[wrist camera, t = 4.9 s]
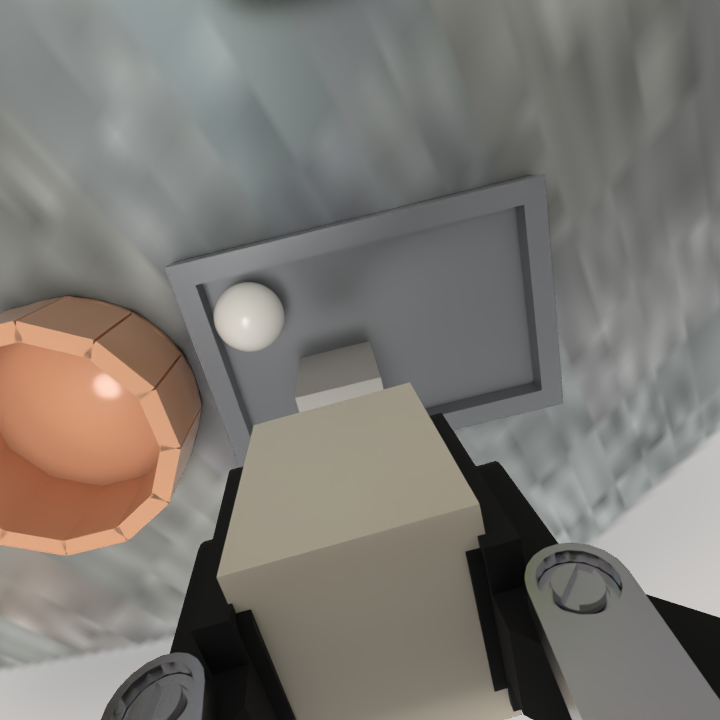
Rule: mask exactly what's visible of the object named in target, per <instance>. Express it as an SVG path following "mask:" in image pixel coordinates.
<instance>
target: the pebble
mask: <svg viewBox="0 0 720 720" xmlns="http://www.w3.org/2000/svg"><path fill="white" fill-rule="evenodd" d="M284 320H285V315H284V309H283V306H282V303H281V301H280V299H279V298H278V297H277V295H276V294H275V293H274V292H273V291H272V290H270V289H269V288H267V287H266V286H264V285H261V284H258V283H254V282H243V283H238V284H235V285H233V286H231V287H230V288H228V289H227V290H225V291H224V292H223V293H222V294H221V296H220V297H219V299H218V300H217V302H216V305H215V308H214V324H215V328H216V330H217V332H218V334H219V336H220V337H221V338H222V340H223V341H224V342H225V343H227V344H228V345H229V346H231V347H233V348H235V349H237V350H240V351H246V352H254V351H259V350H262V349H265V348H267V347H268V346H270V345H271V344H272V343H274V342H275V341H276V340H277V338H278V337H279V336H280V334H281V332H282V329H283V326H284Z"/></svg>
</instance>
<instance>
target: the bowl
mask: <svg viewBox="0 0 720 720" xmlns="http://www.w3.org/2000/svg"><path fill="white" fill-rule="evenodd" d="M201 405H202V404H201V400H200V394H199V388H198V385H197V382H196V379H195V376H194V374H193V372H192V369H191V367H190V365H189V363H188V362H187V360H186V359H185V357H184V355H183V354H182V352H181V351H180V350H179V349H178V347H177V346H176V345H175V344H174V342H173V341H172V340H171V339H170V338H169V337H168V336H167V335H166V334H164V333H163V332H162V331H161V330H160V329H159V328H157V327H156V326H155V325H153V324H152V323H151V322H149V321H148V320H146V319H145V318H143V317H141V316H140V315H138V314H136V313H134V312H132V311H130V310H128V309H125V308H123V307H121V306H118V305H115V304H112V303H109V302H105V301H101V300H96V299H91V298H80V297H71V296H67V297H66V296H63V297H59V298H53V299H47V300H42V301H39V302H35V303H32V304H29V305H26V306H22V307H18V308H14V309H10V310H6V311H4V312H2V313H0V545H5V546H11V547H17V548H23V549H29V550H35V551H41V552H47V553H53V554H59V555H66V554H67V555H72V554H76V553H80V552H84V551H89V550H93V549H97V548H101V547H105V546H109V545H113V544H117V543H122V542H126V541H127V540H130V539H131V538H132V537H133V536H134V535H135V534H136V533H137V532H138V531H139V530H140V529H142V528H143V527H144V526H145V525H146V524H147V523H148V522H149V521H150V520H151V519H152V518H154V517H155V516H156V515H157V514H158V513H159V512H160V511H161V510H162V509H163V508H164V507H166V506H167V505H168V504H169V502H170V500H171V498H172V496H173V493H174V491H175V489H176V487H177V485H178V482H179V480H180V478H181V476H182V474H183V471H184V469H185V467H186V465H187V463H188V460H189V458H190V456H191V454H192V450H193V446H194V441H195V437H196V434H197V431H198V428H199V423H200V416H201V409H202V407H201Z"/></svg>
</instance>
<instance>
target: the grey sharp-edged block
mask: <svg viewBox="0 0 720 720" xmlns="http://www.w3.org/2000/svg"><path fill="white" fill-rule="evenodd" d="M380 390H384V389H383V385H382V380H381V376H380V373H379V370H378V367H377V364H376V360H375V357H374V354H373V351H372V348H371V345H370V341H368V342H364V343H360V344H356V345H352V346H347V347H343V348H339V349H335V350H331V351H327V352H323V353H319V354H315V355H311V356H306V357H302V358H299V364H298V374H297V384H296V394H295V399H296V403H297V406H298V409H299V412H304V411H307V410H311V409H315V408H318V407H322V406H326V405H329V404H333V403H337V402H340V401H344V400H347V399H351V398H355V397H358V396H362V395H366V394H369V393H373V392H377V391H380Z"/></svg>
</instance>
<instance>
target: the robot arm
mask: <svg viewBox="0 0 720 720" xmlns="http://www.w3.org/2000/svg"><path fill="white" fill-rule="evenodd" d="M429 417H430V418H431V420H432V422H433V424H434V425H435V427H436V429H437V431H438V432H439V434H440V436H441V438H442V439H443V441H444V443H445V445H446V446H447V448H448V450H449V452H450V453H451V455H452V457H453V459H454V460H455V462H456V464H457V466H458V467H459V469H460V471H461V473H462V474H463V476H464V478H465V480H466V481H467V483H468V485H469V487H470V488H471V490H472V492H473V493H474V495H475V497H476V499H477V500H478V502H479V504H480V509H481V514H482V519H483V524H484V529H485V534H483V535H479V536H477V537H478V542H479V547H480V548H477V549H473V550H469V551H466V552H465V553H466V558H467V563H468V568H469V572H470V577H471V582H472V587H473V592H474V596H475V601H476V606H477V611H478V615H479V620H480V625H481V630H482V634H483V639H484V644H485V649H486V654H487V658H488V663H489V668H490V673H491V677H492V682H493V687H494V692H496V691H500V690H503V689H507V688H508V695H509V700H510V704H511V706H512V709H513V711H514V712H515V711H518V710H522V712H523V714H524V715H525V716H527V717H529V718H531V719H533V720H720V618H719V617H716V616H712V615H709V614H706V613H703V612H700V611H697V610H694V609H691V608H687V607H684V606H681V605H678V604H675V603H671V602H669V601H665V600H662V599H659V598H656V597H653V596H650V595H646V594H645V593H644V591H643V590H642V589H641V587H640V586H639V584H638V583H637V581H636V580H635V579H634V577H633V576H632V574H631V573H630V571H629V570H628V569H627V568H626V567H625V566H624V565H623V564H622V563H621V562H620V561H619V560H618V559H617V558H616V557H614V556H612V555H610V554H609V553H608V552H606V551H604V550H602V549H599V548H596V547H593V546H590V545H586V544H579V543H562V544H558V543H557V541H556V540H555V538H554V537H553V536H552V534H551V533H550V532H549V530H548V529H547V527H546V526H545V525H544V523H543V522H542V521H541V519H540V518H539V516H538V515H537V514H536V512H535V511H534V510H533V508H532V507H531V505H530V504H529V503H528V501H527V500H526V499H525V497H524V496H523V494H522V493H521V492H520V490H519V489H518V488H517V486H516V485H515V483H514V482H513V481H512V479H511V478H510V477H509V475H508V474H507V472H506V471H505V470H504V468H503V467H502V466H501V465H500V463H499V462H496V461H494V462H491V463H487V464H484V465H480V466H475V464H474V463H473V461H472V460H471V458H470V457H469V455H468V453H467V452H466V450H465V449H464V447H463V446H462V444H461V442H460V441H459V439H458V438H457V436H456V434H455V433H454V431H453V430H452V428H451V427H450V425H449V423H448V422H447V420H446V419H445V417H444V415H443V414H442V413H438V414H434V415H431V416H429ZM243 467H244V466H243ZM243 467H240V468H236V469H232V470H230V472H229V475H228V479H227V483H226V487H225V492H224V496H223V500H222V504H221V508H220V512H219V516H218V520H217V524H216V528H215V533H214V537H213V539H212V540H209V541H205V542H203V543H202V544H201V545H200V548H199V550H198V553H197V557H196V561H195V564H194V568H193V571H192V575H191V579H190V582H189V586H188V589H187V593H186V597H185V600H184V604H183V608H182V611H181V615H180V618H179V622H178V626H177V629H176V633H175V636H174V640H173V644H172V647H171V651H170V654H167V655H163V656H160V657H158V658H156V659H154V660H152V661H150V662H148V663H146V664H145V665H144V666H142V667H141V668H140V669H138V670H137V671H136V672H134V673H133V674H132V675H131V676H130V677H129V678H128V679H127V680H126V681H125V682H124V683H123V684H122V685H121V686H120V687H119V688H118V689H117V691H116V693H115V694H114V696H113V697H112V699H111V700H110V701H109V703H108V704H107V707H106V709H105V711H104V714H103V716H102V719H101V720H296V718H295V716H294V713H293V711H292V708H291V706H290V703H289V701H288V698H287V696H286V694H285V691H284V689H283V686H282V684H281V681H280V679H279V676H278V674H277V672H276V669H275V667H274V664H273V662H272V659H271V657H270V654H269V652H268V649H267V647H266V645H265V642H264V640H263V637H262V635H261V632H260V630H259V627H258V625H257V623H256V620H255V618H254V615H253V613H252V610H251V609H250V610H246V611H242V612H238V613H235V609H234V607H233V604H232V603H231V604H228V603H227V600H226V598H225V596H224V593H223V591H222V589H221V587H220V584H219V582H218V580H217V578H216V577H217V573H218V569H219V565H220V561H221V557H222V553H223V549H224V545H225V541H226V537H227V532H228V528H229V524H230V520H231V516H232V512H233V508H234V504H235V500H236V496H237V492H238V488H239V483H240V479H241V475H242V471H243Z"/></svg>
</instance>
